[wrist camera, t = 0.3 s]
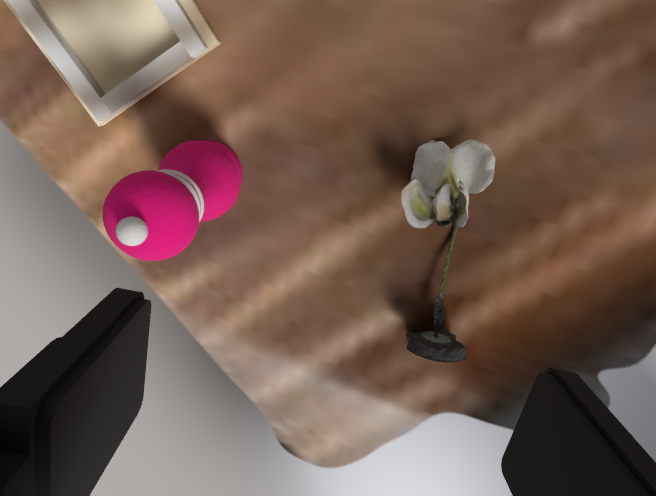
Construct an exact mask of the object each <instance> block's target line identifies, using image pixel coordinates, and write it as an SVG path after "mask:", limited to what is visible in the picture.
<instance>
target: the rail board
mask: <svg viewBox="0 0 656 496" xmlns="http://www.w3.org/2000/svg"><path fill="white" fill-rule="evenodd" d="M4 2H5V3H6V4H7V6H8V7H9V8H10V10H11V11H12V12H13V14H14V15H15V16H16V17H17V19H18V20H19V21H20V23H21V24H22V25H23V27H24V28H25V29H26V31H27V32H28V33H29V35H30V36H31V37H32V39H33V40H34V41H35V43H36V44H37V45H38V47H39V48H40V49H41V51H42V52H43V53H44V55H45V56H46V57H47V59H48V60H49V61H50V63H51V64H52V65H53V67H54V68H55V69H56V71H57V72H58V73H59V75H60V76H61V77H62V79H63V80H64V81H65V82H66V84H67V85H68V86H69V88H70V89H71V90H72V92H73V93H74V94H75V96H76V97H77V98H78V100H79V101H80V102H81V104H82V105H83V106H84V108H85V109H86V110H87V112H88V113H89V114H90V116H91V117H92V118H93V120H94V121H95V122H96V124H97V125H98V126H103V125H105V124H106V123H108V122H109V121H111V120H112V119H113V118H115V117H116V116H118V115H119V114H121V113H122V112H124V111H125V110H126V109H128V108H129V107H131V106H132V105H134V104H135V103H136V102H138V101H139V100H141V99H142V98H144V97H145V96H146V95H148V94H149V93H151V92H152V91H154V90H155V89H156V88H158V87H159V86H161V85H162V84H164V83H165V82H167V81H168V80H169V79H171V78H172V77H174V76H175V75H177V74H178V73H179V72H181V71H182V70H184V69H185V68H187V67H188V66H189V65H191V64H192V63H194V62H195V61H197V60H198V59H199V58H201V57H202V56H204V55H205V54H207V53H208V52H210V51H211V50H212V49H214V48H215V47H217V46H218V45H220V44H221V43H220V41H219V39H218V38H217V36H216V34H215V33H214V31H213V30H212V28H211V26H210V25H209V23H208V22H207V20H206V18H205V17H204V15H203V14H202V12H201V10H200V9H199V7H198V6H197V4H196V2H195V1H194V0H4Z"/></svg>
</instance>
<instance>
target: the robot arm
mask: <svg viewBox="0 0 656 496" xmlns="http://www.w3.org/2000/svg"><path fill="white" fill-rule="evenodd" d="M150 314H151V302H150V300H145V299H144V294H143V293H142V292H137V291H132V290H126V289H121V288H116V289H114V290H113V291H112V292H111V293H110V294H109V295H107V296H106V297H105V298H104V299H103V300H102V301H101V302H100V303H99V304H98V305H97V306H95V307H94V308H93V309H92V310H91V311H90V312H89V313H88V314H87V315H86V316H85V317H83V318H82V319H81V320H80V321H79V322H78V323H77V324H76V325H75V326H74V327H73V328H72V329H70V330H69V331H68V332H67V333H66V334H65V335H64V336H63V337H60V338H56V339H55V340H53V341H52V342H50V343H49V344H48V345H47V346H46V347H45V348H44V349H43V350H42V351H41V352H40V353H38V354H37V355H36V356H35V357H34V358H33V359H32V360H30V361H29V362H28V363H27V364H26V365H25V366H24V367H23V368H22V369H20V370H19V371H18V372H17V373H16V374H15V375H14V376H13V377H12V378H10V379H9V380H8V381H7V382H6V383H5V384H4V385H3V386H2V387H0V496H89V495H90V494H91V492H92V490H93V489H94V487H95V485H96V484H97V482H98V480H99V478H100V477H101V475H102V473H103V472H104V470H105V468H106V467H107V465H108V463H109V462H110V460H111V458H112V457H113V455H114V453H115V451H116V450H117V448H118V446H119V445H120V443H121V441H122V440H123V438H124V436H125V435H126V433H127V431H128V430H129V428H130V426H131V424H132V423H133V421H134V419H135V417H136V416H137V414H138V412H139V410H140V408H141V405H142V401H143V393H144V383H145V371H146V359H147V348H148V336H149V326H150ZM501 466H502V473H503V476H504V478H505V480H506V482H507V484H508V486H509V489H510V491H511V493H512V495H513V496H656V462H655V461H654V460H653V459H652V458H651V457H650V456H649V455H648V453H647V452H646V451H645V450H644V449H643V448H642V447H641V445H640V444H639V443H638V442H637V441H636V440H635V439H634V438H633V436H632V435H631V434H630V433H629V432H628V431H627V430H626V429H625V427H624V426H623V425H622V424H621V423H620V422H619V421H618V420H617V418H616V417H615V416H614V415H613V414H612V413H611V412H610V410H609V409H608V408H607V407H606V406H605V405H604V404H603V403H602V401H601V400H600V399H599V398H598V397H597V396H596V395H595V394H594V392H593V391H592V390H591V389H590V388H589V387H588V386H587V385H586V383H585V382H584V381H583V380H582V379H581V378H580V377H579V376H578V375H577V374H576V373H575V372H570V371H565V370H560V369H554V368H549V369H547V370H546V371H545V372H544V373H543V372H542V373H540V374H539V375H538V376H537V378H536V380H535V382H534V384H533V387H532V389H531V392H530V394H529V396H528V399H527V401H526V403H525V406H524V408H523V410H522V413H521V415H520V417H519V420H518V422H517V424H516V427H515V429H514V431H513V434H512V437H511V439H510V441H509V444H508V446H507V448H506V450H505V453H504V455H503V458H502V463H501Z"/></svg>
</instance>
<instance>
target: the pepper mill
mask: <svg viewBox="0 0 656 496" xmlns="http://www.w3.org/2000/svg"><path fill="white" fill-rule="evenodd" d="M242 177H243V173H242V166H241V163H240V161H239V159H238V157H237V156H236V155H235V153H234V152H233V151H232V150H231V149H230V148H229V147H227V146H226V145H224V144H222V143H219V142H216V141H201V140H193V141H187V142H184V143H181V144H179V145H177V146H176V147H174V148H173V149H172V150H171V151H169V152H168V153H167V154H166V156H165V157H164V158H163V160H162V161H161V163H160V166H159V169H158V171H153V170H151V171H141V172H136V173H133V174H130V175H128V176H126V177H124V178H123V179H122V180H120V181H119V182H118V183H117V184H115V186H114V187H113V188H112V189H111V190H110V192H109V194H108V195H107V197H106V199H105V203H104V206H103V222H104V226H105V229H106V232H107V234H108V235H109V237H110V239H111V240H112V241H113V242H114V244H115V245H116V246H117V247H119V248H120V249H121V250H122V251H124V252H125V253H127V254H128V255H130V256H132V257H135V258H137V259H141V260H147V261H156V260H163V259H168V258H170V257H172V256H174V255H177V254H178V253H180V252H181V251H183V250H184V249H185V248H186V247H187V246H188V245H189V244H190V243H191V241H192V240H193V238H194V236H195V234H196V232H197V229H198V225H199V222H200V221H207V220H212V219H214V218H217V217H219V216H220V215H222V214H223V213H225V212H226V211H227V210H229V209H230V208H231V207H232V205H233V204H234V202H235V201H236V199H237V196H238V194H239V189H240V186H241V183H242Z"/></svg>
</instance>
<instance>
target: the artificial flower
mask: <svg viewBox="0 0 656 496" xmlns="http://www.w3.org/2000/svg"><path fill="white" fill-rule="evenodd" d="M432 141H435V140H431V141H429V142H430V143H426V144H423V145H421V146H419V148H418V149H417V151H416V153H415V160H414V165H413V172H412V175H411V182H410V183H409V184H408V185H407V186H406V187H405V188H404V189H403V190H402V194H401V202H402V206H403V208H404V210H405V215H406V218H407V221H408V222H409V223H410V225H411V226H413V227H415V228H426V227H427V226H429V225H430V224H431V223H437V224H438V226H439V227H444V226H449V225H450V224H451V223H453V222H454V229H453V233H452V238H451V241H450V245H449V250H448V253H447V257H446V262H445V266H444V271H443V277H442V282H441V290H440V294H439V295H438V296H437V298H436V301H435V303H434V307H433V312H434V316H433V317H434V319H435V320H434V321H433V322H434V324H435V329H436V331H430V330H428V331H421V332H418V333H412V332H407V333H406V337H407V340H408V345H407V348H406V349H407V350H409V351H410V352H412V353H413V354H415V355H417V356H420V357H423V358H426V359H429V360H433V361H438V362H457V361H461V360H462V359H463V360H464V359H465V358H467V355H466V350H465V346H464V345H463V344H461V343H460V342H458V341H456V335H454V334H451V333H448V332H446V331H442V330H440V325H441V323H442V322H443V320H444V318H445V308H444V306H443V295H444V293H445V290H446V281H447V279H446V277H447V270H448V268H449V265H450V260H451V253H452V249H453V244H454V241H455V236H456V233H457V230H458V227H463V226H464V225H465V223H466V221H467V218H468V205H469V195H468V193H474V194H475V193H479V192H482V191H483V190H484V189H485V188H486V187H487V186H488V185H489V184H490V183H491V181H492V179H493V176H494V168H495V156H494V154H493V153H492V151H491V149H490V148H489V147H488V146H487V144H484V143H482V142H480V141H476V140H467V141H464V142H463V143H461V144H459V145H457V146H456V147H454V148H453V149H450V148H449V147H448V146H447V145H446V144H445V143H444V142H443V141H437V142H432ZM429 195H430V197H434V199H433V202H432V201H431V199H430V197H429ZM409 339H410V340H409ZM405 341H406V340H405Z"/></svg>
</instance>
